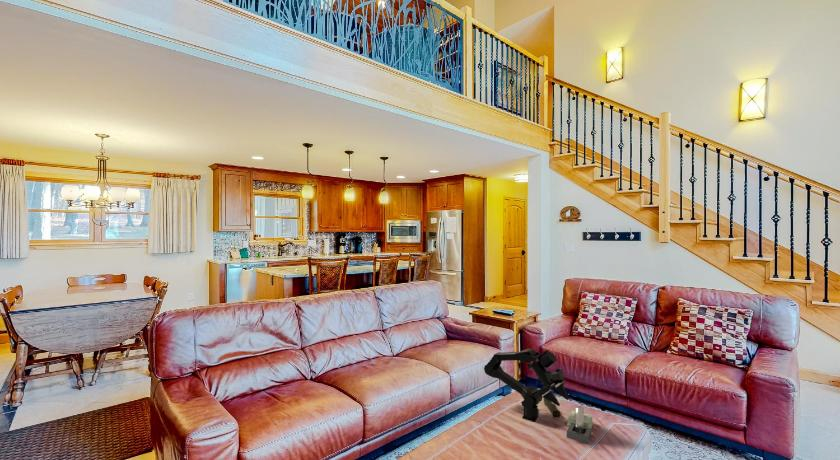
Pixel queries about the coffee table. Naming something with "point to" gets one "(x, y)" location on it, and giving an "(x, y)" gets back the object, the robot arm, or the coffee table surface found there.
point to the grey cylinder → (579, 419)
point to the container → (587, 419)
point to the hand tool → (552, 408)
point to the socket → (579, 434)
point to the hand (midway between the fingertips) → (563, 402)
